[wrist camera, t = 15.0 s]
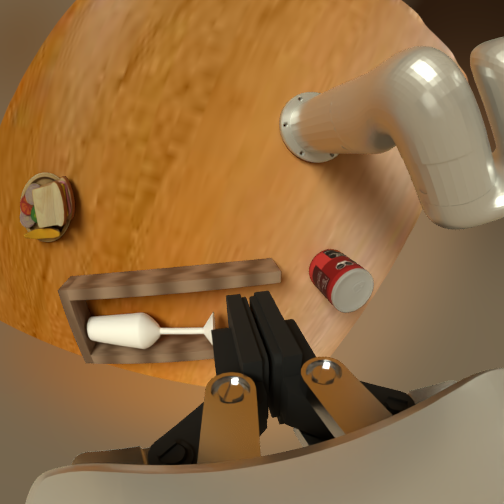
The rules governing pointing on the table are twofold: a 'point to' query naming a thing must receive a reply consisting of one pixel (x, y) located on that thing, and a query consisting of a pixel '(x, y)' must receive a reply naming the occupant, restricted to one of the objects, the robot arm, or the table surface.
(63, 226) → the toy sandwich meal
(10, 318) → the table surface
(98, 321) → the champagne flute
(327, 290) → the canned food
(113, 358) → the walnut U-rest
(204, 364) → the table surface
